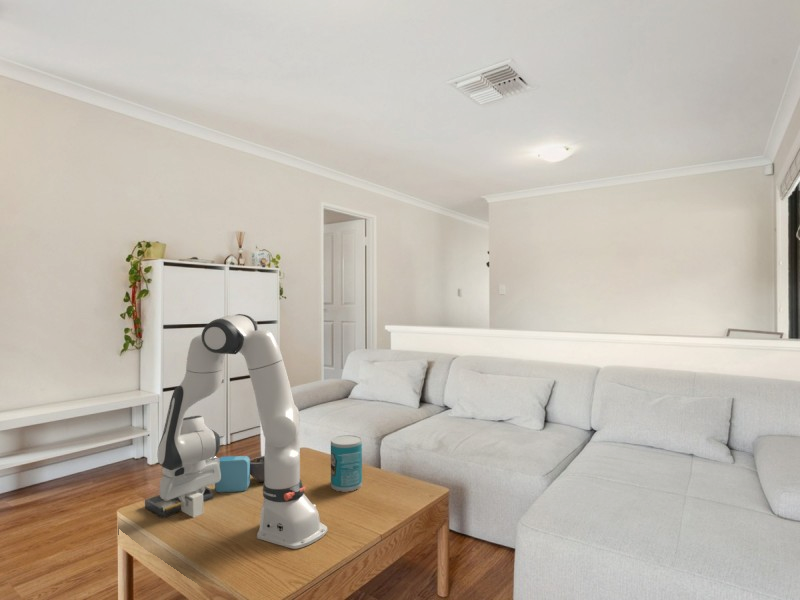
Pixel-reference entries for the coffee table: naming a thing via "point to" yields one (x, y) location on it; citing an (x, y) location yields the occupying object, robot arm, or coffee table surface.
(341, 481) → the food can
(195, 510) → the beige rectangular block
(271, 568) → the coffee table surface
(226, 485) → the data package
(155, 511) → the rack
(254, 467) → the planter
